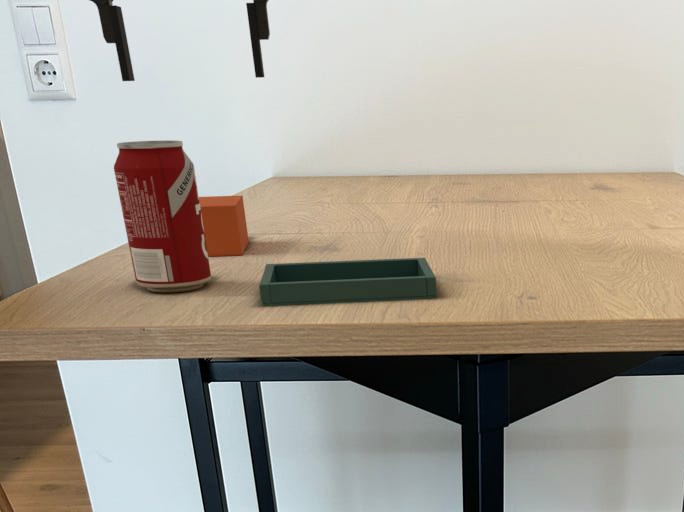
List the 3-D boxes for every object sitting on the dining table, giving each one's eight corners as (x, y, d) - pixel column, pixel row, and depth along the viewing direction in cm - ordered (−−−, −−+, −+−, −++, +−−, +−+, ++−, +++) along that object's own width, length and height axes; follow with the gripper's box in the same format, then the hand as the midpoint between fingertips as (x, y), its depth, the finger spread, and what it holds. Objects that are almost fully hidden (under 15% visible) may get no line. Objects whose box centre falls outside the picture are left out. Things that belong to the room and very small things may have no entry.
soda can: (167, 297, 83) (140, 146, 77) (122, 289, 87) (93, 143, 81) (227, 285, 88) (206, 141, 82) (182, 278, 91) (158, 139, 85)
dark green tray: (262, 311, 78) (259, 284, 77) (269, 288, 86) (266, 263, 85) (436, 303, 79) (435, 277, 78) (426, 281, 88) (425, 257, 87)
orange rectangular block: (242, 255, 103) (235, 205, 100) (191, 257, 102) (183, 207, 100) (248, 241, 111) (242, 195, 109) (201, 243, 111) (194, 197, 108)
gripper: (289, -176, 92) (314, 75, 103) (26, -176, 89) (81, 82, 101) (286, -194, 86) (313, 76, 97) (3, -195, 83) (64, 82, 94)
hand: (194, 79), depth 99 cm, fingers open, 13 cm apart
